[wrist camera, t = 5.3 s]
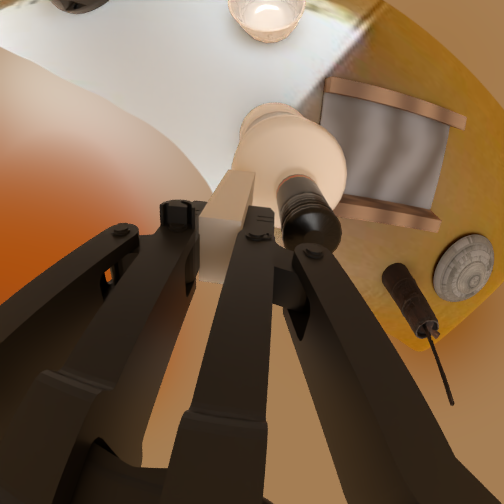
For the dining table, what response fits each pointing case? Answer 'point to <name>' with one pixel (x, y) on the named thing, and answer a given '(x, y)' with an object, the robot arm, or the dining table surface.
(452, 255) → the flying saucer
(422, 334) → the butter churn
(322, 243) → the vodka
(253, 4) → the white cup
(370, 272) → the dining table surface
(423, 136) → the u rest
